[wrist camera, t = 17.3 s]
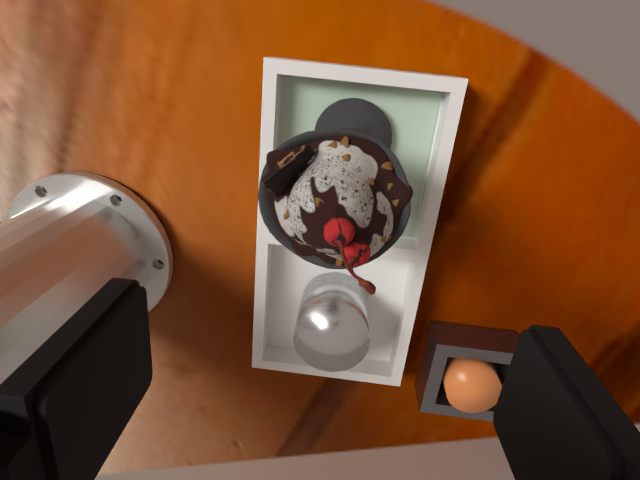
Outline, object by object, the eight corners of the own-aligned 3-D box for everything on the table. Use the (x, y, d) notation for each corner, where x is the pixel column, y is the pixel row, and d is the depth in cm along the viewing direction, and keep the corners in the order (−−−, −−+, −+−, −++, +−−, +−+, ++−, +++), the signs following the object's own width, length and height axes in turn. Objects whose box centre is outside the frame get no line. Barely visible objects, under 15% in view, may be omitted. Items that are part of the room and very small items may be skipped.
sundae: (409, 182, 28) (422, 340, 15) (309, 189, 30) (244, 341, 17) (404, 75, 25) (415, 162, 12) (293, 90, 26) (196, 181, 14)
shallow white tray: (258, 344, 36) (251, 367, 34) (272, 56, 27) (263, 57, 24) (396, 362, 36) (399, 386, 33) (457, 76, 27) (468, 78, 24)
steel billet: (299, 324, 34) (290, 366, 29) (304, 268, 32) (295, 304, 27) (362, 332, 34) (363, 376, 29) (372, 276, 32) (374, 314, 27)
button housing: (414, 384, 37) (419, 411, 34) (430, 320, 34) (437, 344, 31) (492, 394, 36) (503, 422, 34) (514, 330, 34) (528, 355, 31)
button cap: (436, 386, 35) (441, 409, 33) (446, 346, 33) (453, 367, 31) (485, 392, 35) (494, 415, 32) (498, 353, 33) (509, 374, 31)
